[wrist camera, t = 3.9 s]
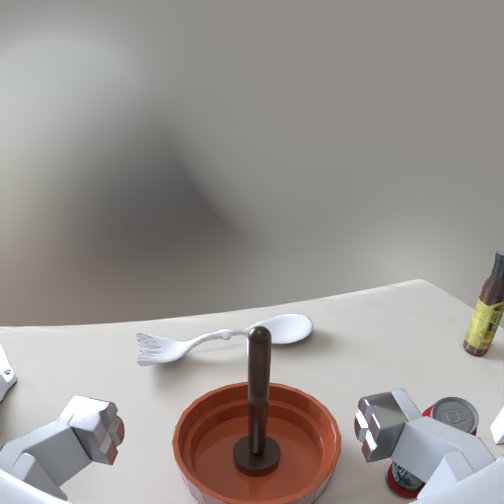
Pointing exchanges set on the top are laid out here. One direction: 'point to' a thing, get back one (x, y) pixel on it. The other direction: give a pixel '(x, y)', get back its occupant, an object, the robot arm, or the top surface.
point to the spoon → (170, 350)
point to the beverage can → (448, 413)
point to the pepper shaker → (498, 428)
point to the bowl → (278, 428)
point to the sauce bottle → (487, 310)
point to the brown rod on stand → (257, 411)
